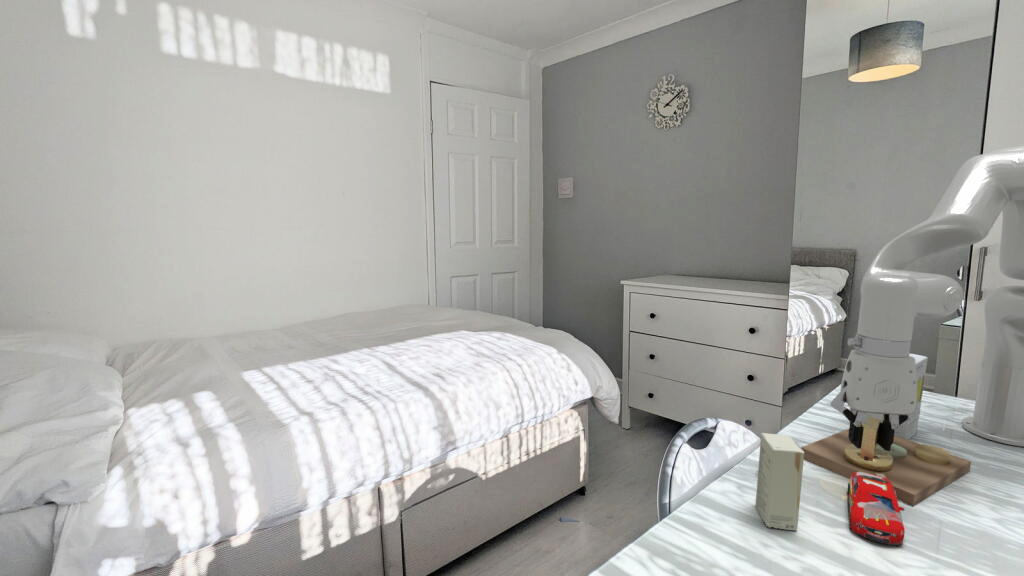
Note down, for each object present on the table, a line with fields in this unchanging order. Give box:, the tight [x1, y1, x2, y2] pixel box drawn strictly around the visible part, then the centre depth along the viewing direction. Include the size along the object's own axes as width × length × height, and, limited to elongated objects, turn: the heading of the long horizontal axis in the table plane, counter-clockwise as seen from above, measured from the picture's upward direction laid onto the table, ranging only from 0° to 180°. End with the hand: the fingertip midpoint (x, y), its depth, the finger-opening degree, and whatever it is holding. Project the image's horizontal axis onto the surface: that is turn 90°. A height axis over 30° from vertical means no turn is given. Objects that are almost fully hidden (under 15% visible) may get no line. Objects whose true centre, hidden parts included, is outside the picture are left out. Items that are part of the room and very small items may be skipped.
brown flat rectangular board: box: [800, 424, 972, 507], centre depth 91 cm, size 22×18×4 cm
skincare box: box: [755, 432, 805, 531], centre depth 74 cm, size 6×4×12 cm
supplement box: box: [862, 353, 928, 440], centre depth 105 cm, size 10×9×17 cm
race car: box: [846, 472, 906, 546], centre depth 75 cm, size 16×7×5 cm, turn 146°
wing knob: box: [844, 417, 893, 471], centre depth 88 cm, size 7×7×7 cm
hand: (869, 445), depth 88 cm, fingers closed on wing knob, 3 cm apart
